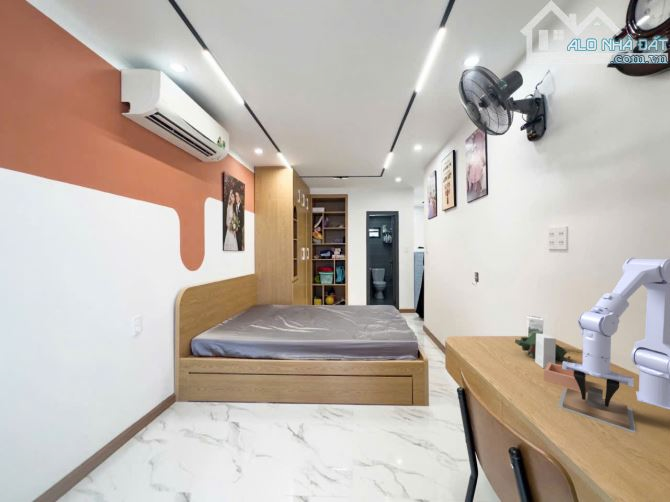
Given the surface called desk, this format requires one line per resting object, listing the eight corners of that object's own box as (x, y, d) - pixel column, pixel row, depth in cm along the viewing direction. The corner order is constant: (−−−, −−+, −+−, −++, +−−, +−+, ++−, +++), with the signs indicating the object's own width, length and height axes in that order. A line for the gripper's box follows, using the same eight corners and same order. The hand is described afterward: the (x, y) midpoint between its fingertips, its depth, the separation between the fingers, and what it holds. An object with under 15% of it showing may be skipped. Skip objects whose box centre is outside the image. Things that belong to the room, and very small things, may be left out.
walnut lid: (627, 409, 77) (627, 391, 77) (629, 429, 68) (630, 409, 68) (567, 391, 86) (567, 375, 86) (562, 407, 77) (562, 389, 77)
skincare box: (555, 369, 103) (556, 338, 103) (542, 368, 104) (543, 337, 104) (546, 363, 109) (547, 334, 109) (534, 362, 110) (535, 333, 110)
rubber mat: (632, 410, 77) (632, 409, 77) (635, 434, 66) (635, 433, 66) (563, 390, 88) (563, 388, 88) (557, 408, 77) (557, 406, 77)
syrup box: (541, 346, 129) (541, 316, 129) (542, 350, 124) (543, 319, 124) (526, 344, 132) (527, 314, 132) (527, 347, 127) (528, 317, 127)
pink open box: (584, 382, 93) (585, 371, 93) (582, 392, 86) (583, 380, 86) (548, 372, 100) (548, 362, 100) (543, 381, 93) (544, 370, 93)
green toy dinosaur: (558, 378, 107) (580, 358, 106) (517, 344, 113) (537, 325, 112) (546, 370, 118) (566, 352, 117) (509, 340, 124) (527, 322, 123)
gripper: (561, 350, 79) (560, 396, 79) (635, 366, 69) (633, 419, 69) (564, 345, 84) (563, 388, 84) (633, 359, 74) (631, 408, 74)
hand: (594, 401), depth 77 cm, fingers open, 4 cm apart
